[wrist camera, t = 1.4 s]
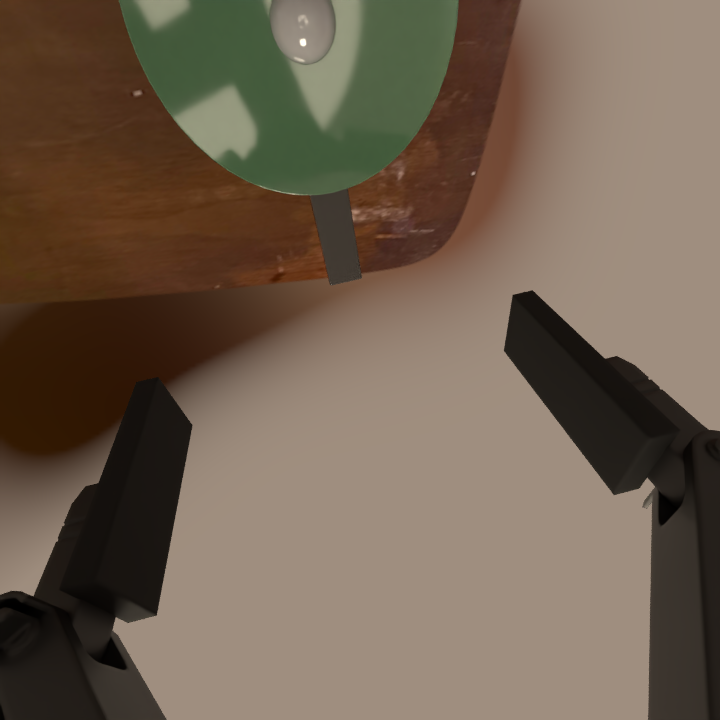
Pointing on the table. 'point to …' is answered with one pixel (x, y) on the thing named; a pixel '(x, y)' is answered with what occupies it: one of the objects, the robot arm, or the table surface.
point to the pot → (298, 91)
